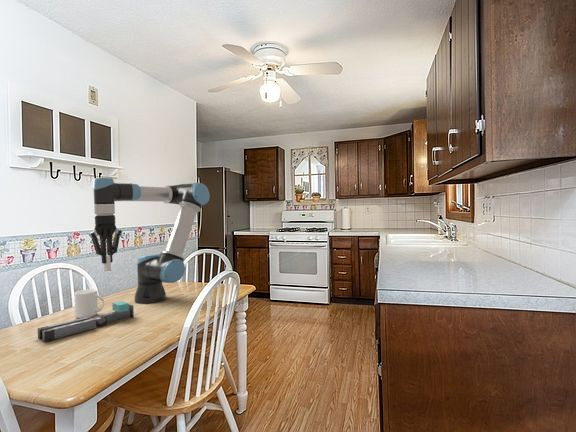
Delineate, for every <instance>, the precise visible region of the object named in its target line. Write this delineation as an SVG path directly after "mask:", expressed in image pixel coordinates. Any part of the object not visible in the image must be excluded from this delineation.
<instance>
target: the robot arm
mask: <svg viewBox="0 0 576 432" xmlns="http://www.w3.org/2000/svg"><path fill="white" fill-rule="evenodd" d="M92 184H93V185H92V187H93V188H92V190H93V203H94V214H95V216H94V224H95V226H94V229H93V230H92V231H90V232H88V235H89V237H90V238H91V241H92V244H93V247H94V251H95V253H96V255H99V256H101V264H102V265H103V268H104V269H103V270H104V272H111V271H112V268H111V267H112V265H111V263H113V256H114V254H117V253H118V248H119V243H120V237H121V235H122V233H123V230H120V229H118V228H117V226H116V215H115V214H116V211H115V210H116V208H115V207H116V206H115V205H116V204H115V202H162V203H164V204H173V205H178V206H180V208H179V211H178V214H177V218H176V219H175V222H174V226H173V228H172V231H171V233H170V236H169V239H168V242H167V244H166V247H165V249H164V250H163V251H161V252H160V253H158V254H149V255H143V256H141V255H140V256H139V257H138V258H137V261H136V263H137V264H136V266H137V288H136V291H135V294H134V298H133V299H134V303H137V304H152V303H158V302H162V301H164V300H166V298H167V293H166V290H165V288H164V285H163V283H165V284H172V283H173V284H175V283H176V282H178V281H180V280H182V278H183V277H184V275H185V272H186V267H185V262H184V261H185V258H184V256H183V253H184V250H185V248H186V245H187V242H188V239H189V237H190V233H191V231H192V228H193V225H194V223H195V219H196V217H197V213H199V212H200V211H202V208H203V206H204V205H206V204H208V202H209V201H210V197H211V195H210V191H209V188H208V187H207V185H205V184H204V183H201V182H193V183H182V184H180V183H179V184H174V185H164V186H161V187H160V186H142V185H139V184H136V183H123V182H122V183H120V182H119V183H118V182H117V183H116V182H115V181H114V178H112V177H96V178H93V183H92ZM97 235H98V237H99V238H98V237H97ZM113 235H114V236H113ZM99 240H100V242H99Z"/></svg>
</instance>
